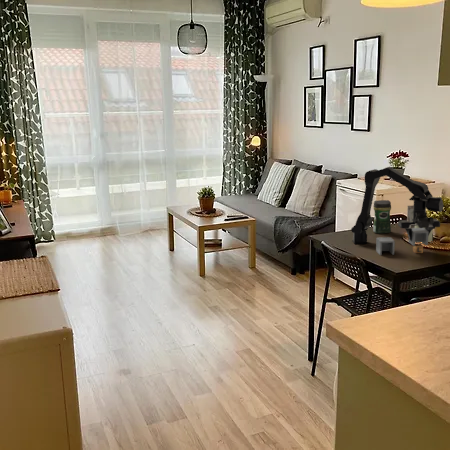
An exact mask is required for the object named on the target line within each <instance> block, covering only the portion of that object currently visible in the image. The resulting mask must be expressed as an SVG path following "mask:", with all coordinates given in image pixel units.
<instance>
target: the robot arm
mask: <svg viewBox="0 0 450 450" xmlns="http://www.w3.org/2000/svg"><path fill="white" fill-rule="evenodd" d="M385 176H386V177H388V178H389V179H392V180H393V181H395V182H397V183H398V184H401V185H402V186H404V187H405V188H406V189H407V190H408V191H409V192H410V193H411V194H412V196H411V197H410V198H408V200H409V201H413V205H414V206H413V205H412V206H413V212H412V213H413V219H412V221H413V222H408V221H407V219H406V220H405V219H404V220H403V219H402V220H399V221H398V222H397V226H398V227H399V228H400V229H404V230H405V231H406V235H407V234H408V235H407V236H408V240H409V239H410V241H411V240H412V232H411V231H412V228H411V226H418V227H419V228H425V229H426V230H427V231H428V236H429V234H430V232H431V230H432V229H433V230H434V229H436V228H440V227H441V221H439V220H438V219H436V218H434V217H433V216H428V215H427V212H426V211H430V212H437V213H439V212H440V213H441V212H442V211H443V208H444V202H443V197H440V196H439V197H435V196H433V195H432V193H431V191H430V190H429V186H428V185H427V184H426V183H424V182H422V181H418V180H414V179H411V178H410V177H408V176H407V175H404V174H403V173H401V172H399V171H398V170H396V169H394V168H393V167H392V166H387V167H385V168H383V169H379V170H378V169H377V168H376V169H375V168H374V169H371V170H368V171H366V172H365V174H364V184H365V185H364V186H365V189H364V194H363V201H362V205H361V211H360V213H359V215H358V217H357V219H356V221H355V224H354V225H353V226H352V227H351V228H350V231H351V233H352V240H351V241H352V243H354V245H362V244H363V245H364V244H368V234H367V231H368V229H369V228H370V227H371V226H372V225H373V221H374V216H371V211H372V204H373V201H374V195H375V191H376V187H377V185H378V183H379V182H380V179H381V178H382V177H385Z"/></svg>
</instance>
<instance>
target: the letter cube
mask: <svg viewBox="0 0 450 450" xmlns="http://www.w3.org/2000/svg"><path fill="white" fill-rule="evenodd" d="M412 252H413V253H415V254H423V253H424V244H423V245H422V243H415V246H413V245H412Z"/></svg>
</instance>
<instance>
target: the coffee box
mask: <svg viewBox="0 0 450 450" xmlns="http://www.w3.org/2000/svg"><path fill="white" fill-rule="evenodd" d="M413 206H414V204H412V205H407V210H406V211H407V215H406V217H407V218H406V220H407V221H408V222H413V221H412V219H413V213H412V212H413ZM411 228H415V226H411Z"/></svg>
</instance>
